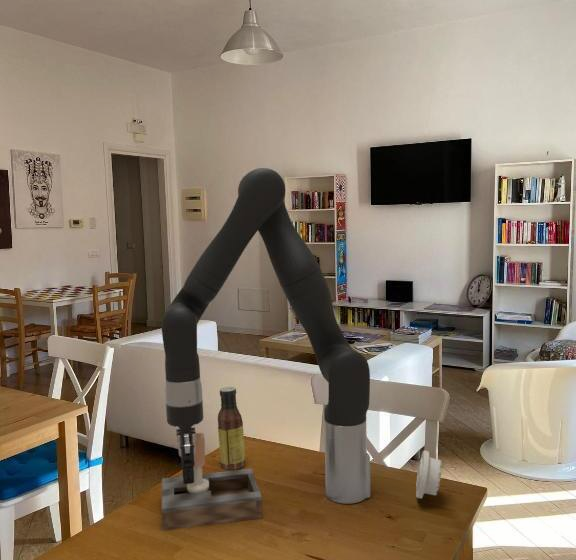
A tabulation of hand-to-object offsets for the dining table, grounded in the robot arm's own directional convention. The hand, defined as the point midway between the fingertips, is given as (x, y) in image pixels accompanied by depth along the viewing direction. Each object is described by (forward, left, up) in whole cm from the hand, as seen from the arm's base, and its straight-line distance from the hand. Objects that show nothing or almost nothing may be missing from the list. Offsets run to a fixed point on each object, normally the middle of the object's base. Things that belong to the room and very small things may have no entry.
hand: (188, 478), depth 120 cm
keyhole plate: (-4, 0, -7) cm, 8 cm away
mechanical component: (-50, +7, -7) cm, 51 cm away
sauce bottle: (-11, -20, -7) cm, 24 cm away
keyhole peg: (-2, 0, -2) cm, 3 cm away
